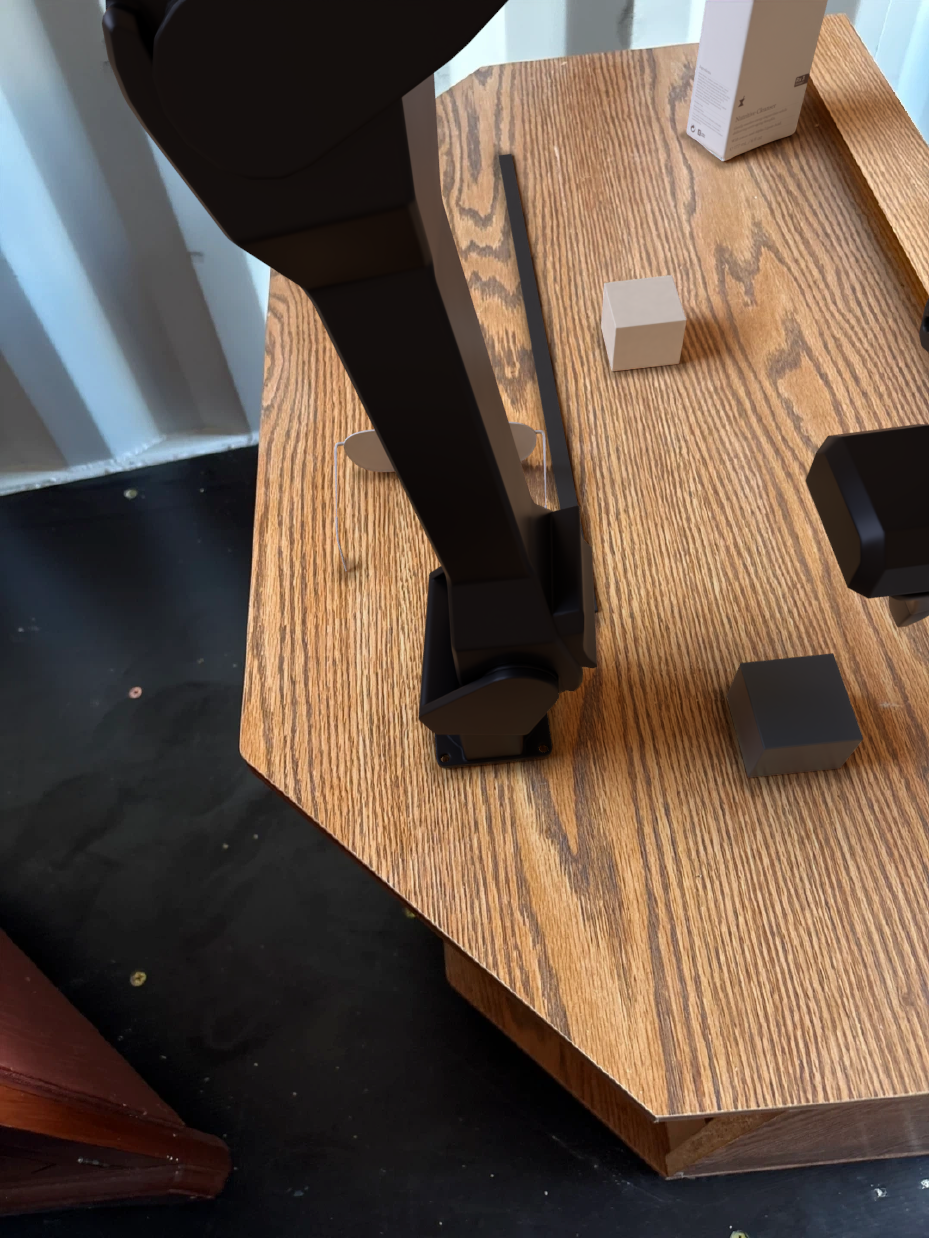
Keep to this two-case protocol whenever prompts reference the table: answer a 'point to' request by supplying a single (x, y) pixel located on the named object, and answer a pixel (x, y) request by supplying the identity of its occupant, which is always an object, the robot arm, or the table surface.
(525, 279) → the line tape
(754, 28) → the cosmetic box
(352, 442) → the sunglasses
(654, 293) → the cream block
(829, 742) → the slate block
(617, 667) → the table surface
